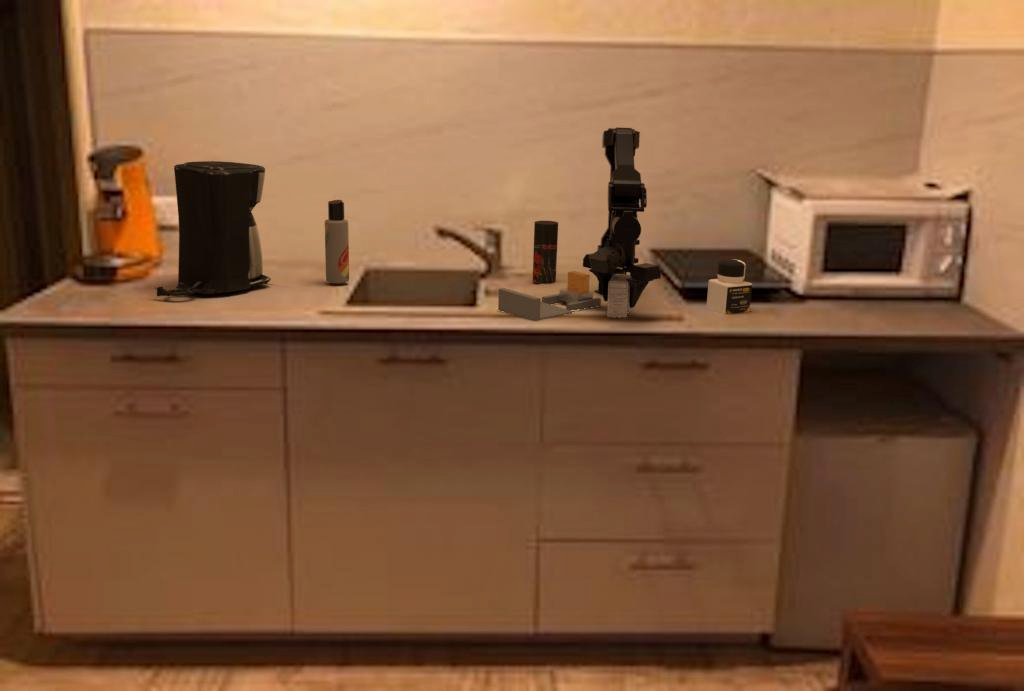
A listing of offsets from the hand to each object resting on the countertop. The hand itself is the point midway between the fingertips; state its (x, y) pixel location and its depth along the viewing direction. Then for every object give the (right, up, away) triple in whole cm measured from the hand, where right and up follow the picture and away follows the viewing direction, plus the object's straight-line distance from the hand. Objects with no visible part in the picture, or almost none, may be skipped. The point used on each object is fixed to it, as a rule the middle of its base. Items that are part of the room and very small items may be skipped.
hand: (618, 304), depth 227 cm
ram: (-9, +1, +8) cm, 12 cm away
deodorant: (-16, +7, +32) cm, 37 cm away
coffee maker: (-94, +4, +16) cm, 95 cm away
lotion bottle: (-67, +7, +25) cm, 72 cm away
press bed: (-15, -1, +4) cm, 15 cm away
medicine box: (0, -3, +1) cm, 3 cm away
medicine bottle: (+26, -2, +7) cm, 27 cm away
